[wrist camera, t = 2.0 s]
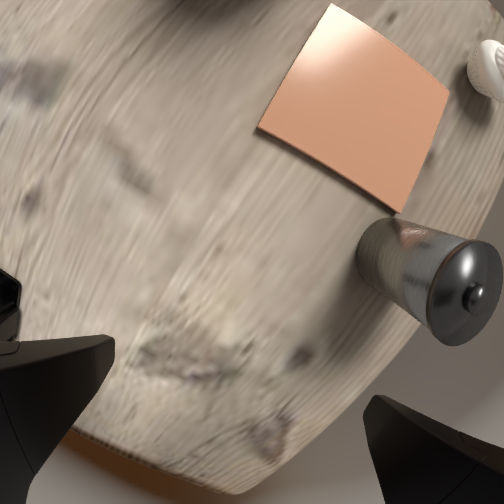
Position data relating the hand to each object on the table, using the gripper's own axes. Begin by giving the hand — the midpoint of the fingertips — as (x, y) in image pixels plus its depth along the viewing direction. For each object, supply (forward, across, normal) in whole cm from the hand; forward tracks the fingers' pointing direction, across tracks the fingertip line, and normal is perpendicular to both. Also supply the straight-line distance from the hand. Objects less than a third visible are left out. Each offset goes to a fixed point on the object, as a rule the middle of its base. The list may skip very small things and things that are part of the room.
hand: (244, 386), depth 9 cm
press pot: (+14, +10, +3) cm, 17 cm away
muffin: (+16, +16, +22) cm, 32 cm away
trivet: (+14, +5, +14) cm, 20 cm away
